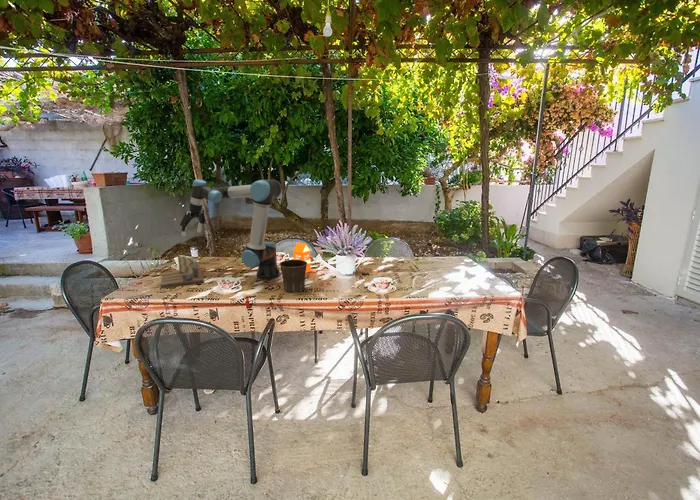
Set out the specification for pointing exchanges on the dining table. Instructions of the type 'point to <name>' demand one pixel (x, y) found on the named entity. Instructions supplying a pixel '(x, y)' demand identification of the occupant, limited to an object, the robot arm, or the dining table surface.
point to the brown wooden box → (182, 277)
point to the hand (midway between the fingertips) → (191, 233)
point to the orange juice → (302, 254)
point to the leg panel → (185, 264)
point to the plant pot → (293, 275)
